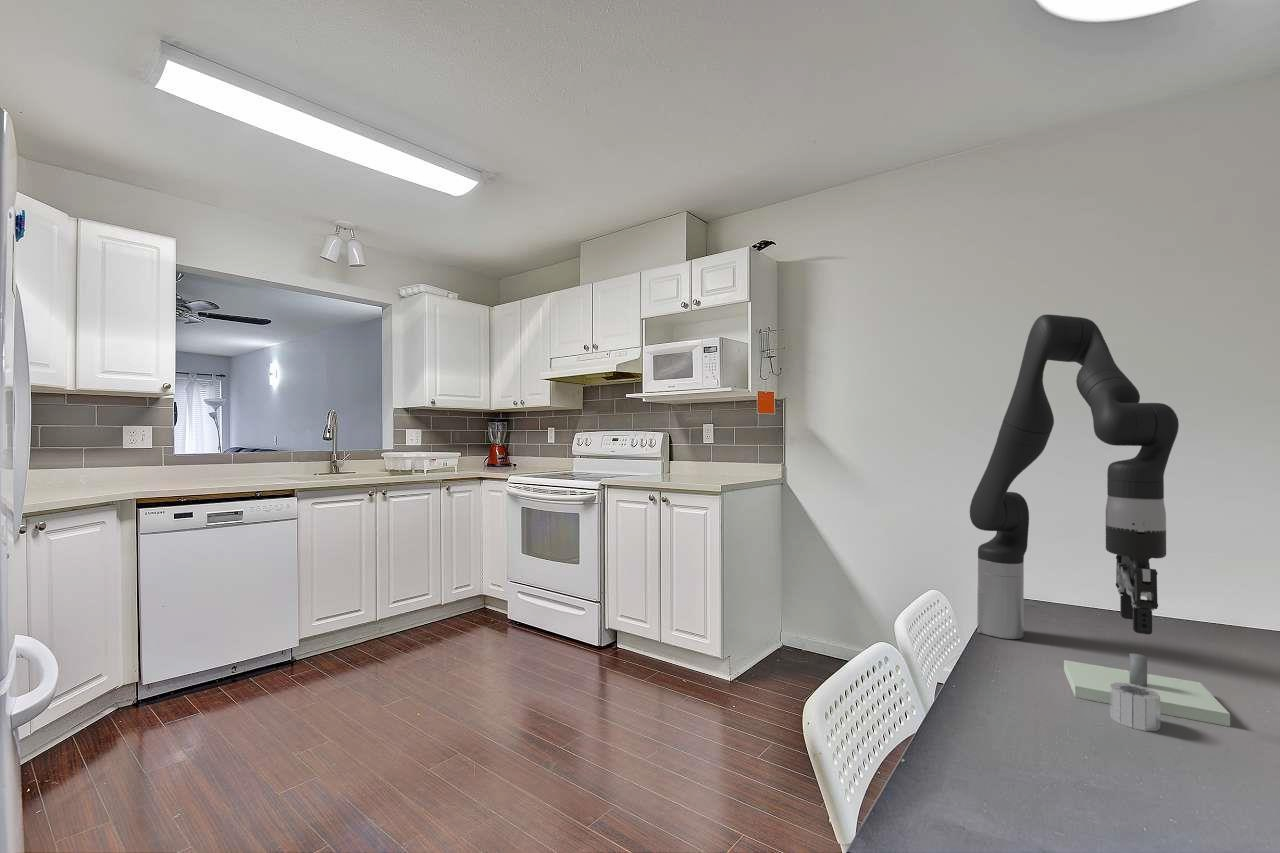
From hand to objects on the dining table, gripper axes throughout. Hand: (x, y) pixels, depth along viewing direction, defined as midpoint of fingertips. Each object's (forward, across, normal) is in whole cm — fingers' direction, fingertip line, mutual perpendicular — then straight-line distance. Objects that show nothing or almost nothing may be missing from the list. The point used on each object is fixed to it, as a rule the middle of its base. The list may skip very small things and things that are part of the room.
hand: (1135, 625), depth 95 cm
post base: (+15, -13, +3) cm, 20 cm away
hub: (+15, 0, 0) cm, 16 cm away
